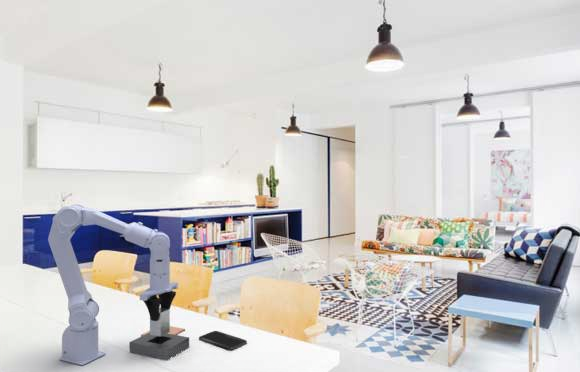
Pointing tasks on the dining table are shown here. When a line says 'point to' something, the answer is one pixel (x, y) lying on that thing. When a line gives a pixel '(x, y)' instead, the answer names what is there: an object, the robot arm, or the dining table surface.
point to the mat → (172, 331)
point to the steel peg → (161, 323)
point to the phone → (223, 340)
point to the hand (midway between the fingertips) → (159, 318)
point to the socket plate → (159, 345)
